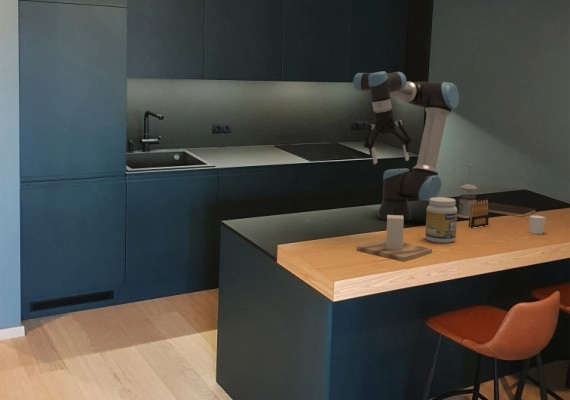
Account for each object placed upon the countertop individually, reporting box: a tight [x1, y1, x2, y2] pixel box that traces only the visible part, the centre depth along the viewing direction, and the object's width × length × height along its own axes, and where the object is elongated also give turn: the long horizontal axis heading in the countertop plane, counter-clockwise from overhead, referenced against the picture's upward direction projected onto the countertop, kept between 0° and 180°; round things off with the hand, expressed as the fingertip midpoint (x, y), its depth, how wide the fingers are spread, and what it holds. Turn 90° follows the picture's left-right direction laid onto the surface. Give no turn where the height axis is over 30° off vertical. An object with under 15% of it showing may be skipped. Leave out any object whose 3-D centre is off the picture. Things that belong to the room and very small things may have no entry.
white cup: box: [528, 214, 547, 235], centre depth 305 cm, size 7×7×7 cm
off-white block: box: [385, 215, 405, 250], centre depth 270 cm, size 6×6×12 cm
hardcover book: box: [488, 202, 537, 216], centre depth 351 cm, size 16×23×2 cm
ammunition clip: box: [468, 199, 490, 229], centre depth 315 cm, size 11×2×12 cm, turn 122°
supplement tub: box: [424, 196, 458, 244], centre depth 289 cm, size 12×12×17 cm
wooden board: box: [356, 238, 433, 262], centre depth 272 cm, size 22×18×2 cm
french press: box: [457, 163, 478, 219], centre depth 337 cm, size 10×12×25 cm
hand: (391, 161), depth 292 cm, fingers open, 13 cm apart
